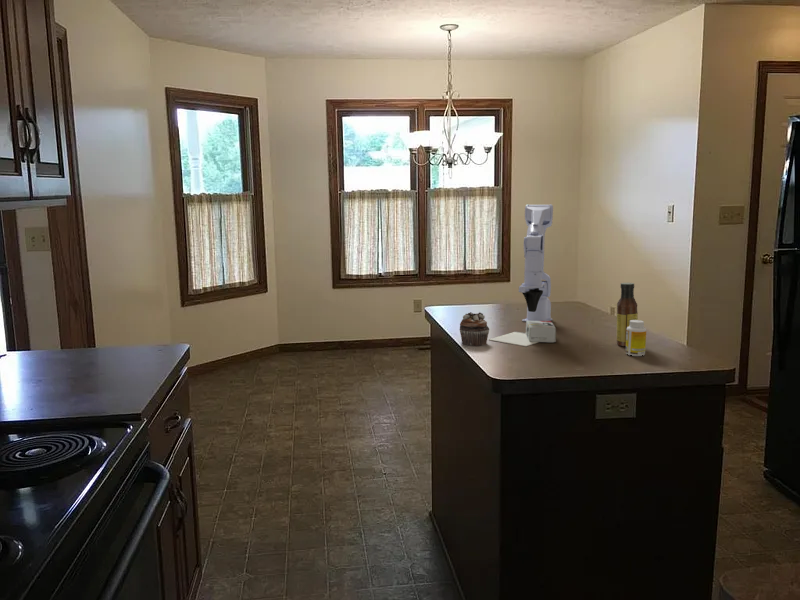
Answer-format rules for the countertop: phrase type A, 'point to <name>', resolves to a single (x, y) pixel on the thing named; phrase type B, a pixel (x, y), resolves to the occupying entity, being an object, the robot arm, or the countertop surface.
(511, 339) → the mat
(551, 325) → the ink box
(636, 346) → the supplement bottle
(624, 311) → the sauce bottle
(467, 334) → the cupcake
